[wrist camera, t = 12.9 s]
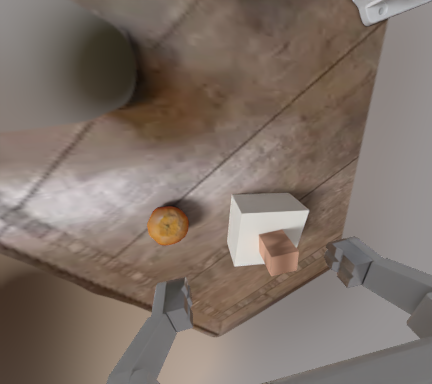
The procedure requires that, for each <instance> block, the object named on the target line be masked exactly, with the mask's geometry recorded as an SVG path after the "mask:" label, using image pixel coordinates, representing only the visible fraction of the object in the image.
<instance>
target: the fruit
mask: <svg viewBox="0 0 432 384" xmlns="http://www.w3.org/2000/svg"><path fill="white" fill-rule="evenodd" d="M188 225H189V221H188V218H187V216H186V215H185V214H184V212H182V211H181V210H180V209H179V208H177V207H172V206H166V207H158V208H156V209H155V210H154V211H153V213H152V215H151V217H150V219H149V221H148V223H147V227H148V232H149V235H150V236H151V237H152V238H153V239H154V240H155V241H156V242H157V243H158V244H160V245H171V244H175V243H177V242H179V241H181V240H182V239H183V238H184V237H185V236H186V234H187V232H188Z"/></svg>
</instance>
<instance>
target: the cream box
mask: <svg viewBox="0 0 432 384" xmlns="http://www.w3.org/2000/svg"><path fill="white" fill-rule="evenodd" d="M308 213H309V209H307V208H306V207H305V206H304V205H303V204H302V203H300V202H299V201H298V200H297V199H296V198H294V197H293V196H292V195H291V194H290V193H265V194H233V195H232V198H231V208H230V218H229V228H228V238H227V243H228V247H229V250H230V253H231V257H232V260H233V263H234V266H245V265H255V264H265V263H264V261H263V259H262V257H261V255H260V253H259V234H263V233H268V232H272V231H277V230H281V229H282V230H283V231H284V233H285V234H286V235H287V236H288V238H289V239H290V240H291V242H292V243H293V244H294V245H295V247H296V248H297V246H298V243H299V240H300V237H301V234H302V231H303V228H304V225H305V222H306V219H307V216H308Z"/></svg>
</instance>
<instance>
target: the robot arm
mask: <svg viewBox="0 0 432 384" xmlns="http://www.w3.org/2000/svg"><path fill="white" fill-rule="evenodd" d="M352 1H353V2H354V3H355V4H356V5H357V7H358V8H359V12H360V16H361V19H362V22H363V24H364V25H365V26H370V25H373V24H375V23H378V22H380V21H383V20H385V19H388V18H390V17H393V16H395V15H398V14H401V13H403V12H406V11H408V10H411V9H413V8H416V7H418V6H421V5H423V4H426V3H429V2H431V1H432V0H352ZM326 248H327V249H328V250H327V251H326V252H325V256H324V258H325V261H326V263H327V265H328V266H329V268H330V269H331V270H333V271H335V272H337V277H338V278H339V279H340V280H341V281H342V283H343V284H344V285H345V286H346V287H347V288H350V287H354V286H358V285H363V286H364V287H366V288H367V289H369V290H371V291H372V292H374V293H376V294H377V295H379V296H381V297H382V298H384V299H386V300H387V301H389V302H391V303H393V304H394V305H396V306H397V307H399V308H401V309H402V310H404V311H406V312H407V313H409V314H411V316H410V318H409V319H408V320H407V325H408V326H409V327H410V328H411V329H412V331H414V333H415V334H416V335H417V336H418V337H419V338H420V339H419V340H415V341H412V342H408V343H405V344H401V345H397V346H394V347H390V348H387V349H384V350H380V351H376V352H373V353H369V354H365V355H362V356H358V357H355V358H351V359H348V360H344V361H341V362H337V363H334V364H330V365H326V366H323V367H319V368H316V369H312V370H309V371H305V372H302V373H298V374H294V375H291V376H287V377H284V378H280V379H277V380H273V381H270V382H266V383H262V384H432V275H430V274H427V273H424V272H422V271H419V270H416V269H414V268H411V267H409V266H406V265H403V264H401V263H398V262H396V261H393V260H390V259H388V258H386V259H384V258H383V257H381V256H380V255H379V254H377V253H376V252H375V251H374V250H372V249H371V248H370V247H369V246H367V245H366V244H365V243H364V242H362V241H361V240H360V239H359V238H357V237H349V238H346V239H340V240H336V241H333V242H329V243H328V244H327V245H326ZM191 306H192V293H191V289H190V286H189V285H188V281H187V278H186V277H184V278H179V279H175V280H170V281H165V282H161V283H158V284H157V286H156V291H155V297H154V303H153V309H152V315H151V317H149V318H148V319H147V320H146V322H145V323H144V325H143V326H142V328H141V329H140V331H139V332H138V334H137V335H136V337H135V338H134V340H133V341H132V343H131V344H130V346H129V347H128V348H127V350H126V352H125V353H124V354H123V356H122V358H121V359H120V360H119V362H118V363H117V365H116V366H115V368H114V369H113V371H112V372H111V374H110V375H109V377H108V380H107V384H160V383H159V382H158V381H157V380H156V379H157V377H158V375H159V373H160V370H161V368H162V366H163V363H164V361H165V359H166V357H167V354H168V352H169V350H170V348H171V345H172V343H173V341H174V339H175V336H176V334H177V333H176V332H179V331H182V330H186V329H190V328H193V313H192V310H191Z"/></svg>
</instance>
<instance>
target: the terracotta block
mask: <svg viewBox="0 0 432 384" xmlns="http://www.w3.org/2000/svg"><path fill="white" fill-rule="evenodd" d="M259 253H260V255H261V257H262V259H263V261H264V263H265V265H266V267H267V269H268V271H269V273H270V275H271V276H274V275H278V274H282V273H287V272H291V271H295V270H297V263H298V254H299V251H298V249H297V248H296V247H295V245H294V244H293V243H292V242H291V240H290V239H289V238H288V236H287V235H286V234H285V233H284V231H283V230H282V229H281V230H277V231H272V232H268V233H263V234H259Z"/></svg>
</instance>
